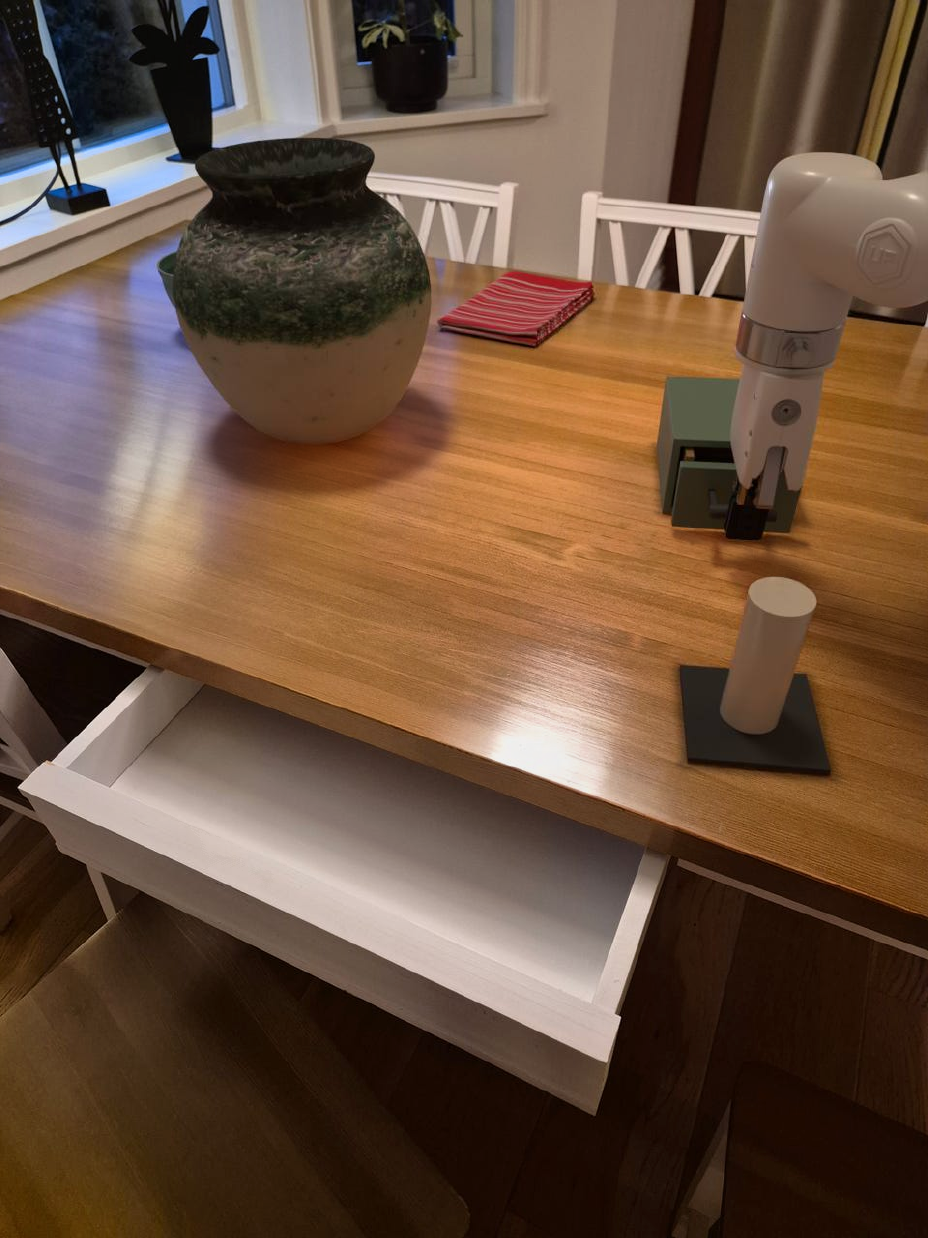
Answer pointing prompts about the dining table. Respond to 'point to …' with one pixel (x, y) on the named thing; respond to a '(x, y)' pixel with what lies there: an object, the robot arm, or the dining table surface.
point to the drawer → (720, 491)
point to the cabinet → (692, 423)
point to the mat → (721, 744)
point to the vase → (302, 289)
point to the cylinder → (766, 653)
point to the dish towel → (519, 308)
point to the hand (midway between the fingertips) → (741, 534)
